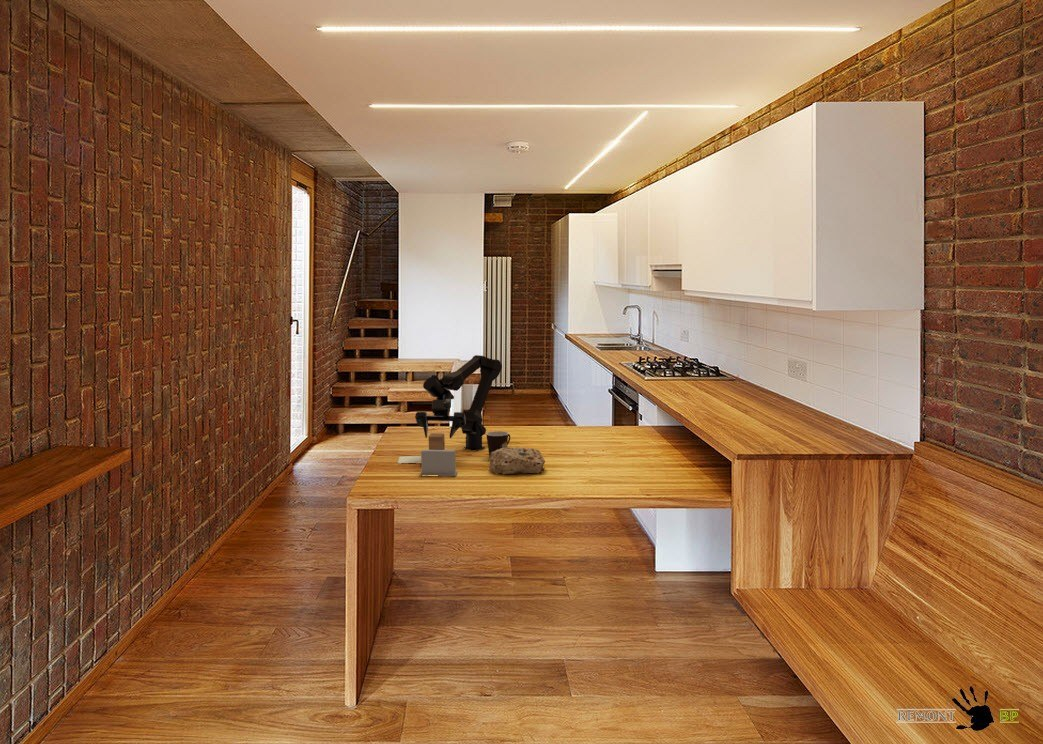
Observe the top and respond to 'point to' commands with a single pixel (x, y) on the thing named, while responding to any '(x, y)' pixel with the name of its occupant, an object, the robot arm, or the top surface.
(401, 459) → the mat
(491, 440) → the coffee mug
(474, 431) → the robot arm
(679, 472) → the top surface
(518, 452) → the rock
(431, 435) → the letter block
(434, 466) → the screen
